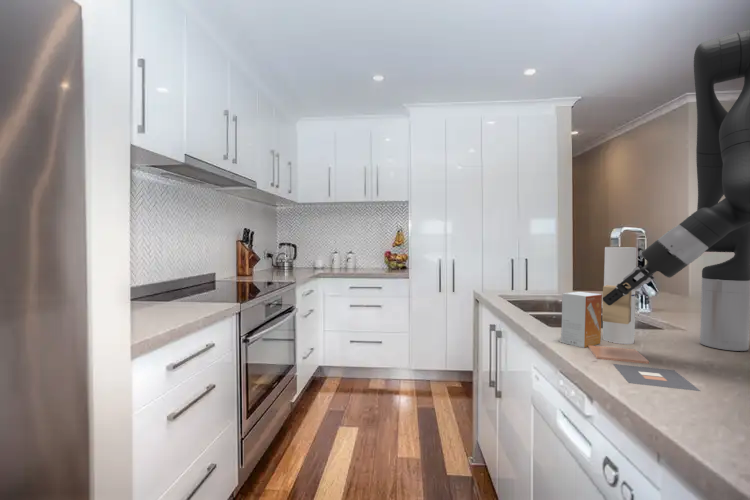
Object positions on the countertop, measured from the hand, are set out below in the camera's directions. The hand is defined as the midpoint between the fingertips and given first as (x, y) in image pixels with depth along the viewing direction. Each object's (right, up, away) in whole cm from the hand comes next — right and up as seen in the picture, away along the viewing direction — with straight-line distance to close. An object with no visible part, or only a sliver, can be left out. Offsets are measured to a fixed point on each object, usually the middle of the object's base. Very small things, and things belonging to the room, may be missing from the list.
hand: (608, 300), depth 91 cm
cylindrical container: (+10, -12, +13) cm, 21 cm away
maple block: (+1, -5, -1) cm, 5 cm away
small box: (-1, -12, +10) cm, 16 cm away
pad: (+1, -13, -1) cm, 13 cm away
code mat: (0, -13, -15) cm, 20 cm away
